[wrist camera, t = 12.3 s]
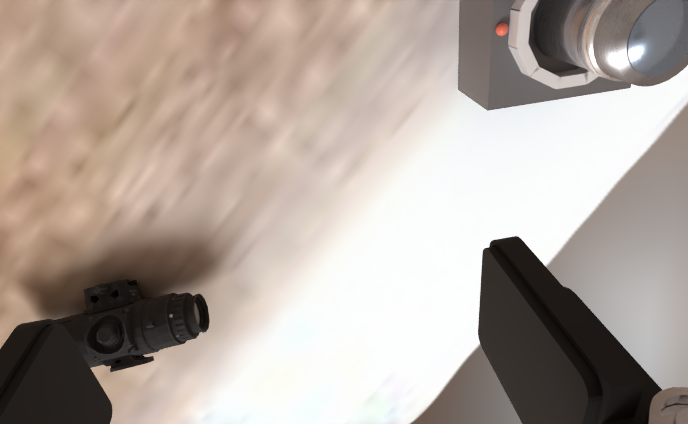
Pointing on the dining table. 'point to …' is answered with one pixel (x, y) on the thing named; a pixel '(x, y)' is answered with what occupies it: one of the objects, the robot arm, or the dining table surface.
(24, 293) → the dining table surface
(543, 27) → the lens
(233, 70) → the dining table surface
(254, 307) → the dining table surface
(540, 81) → the grey ring-socket block
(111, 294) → the night vision scope
